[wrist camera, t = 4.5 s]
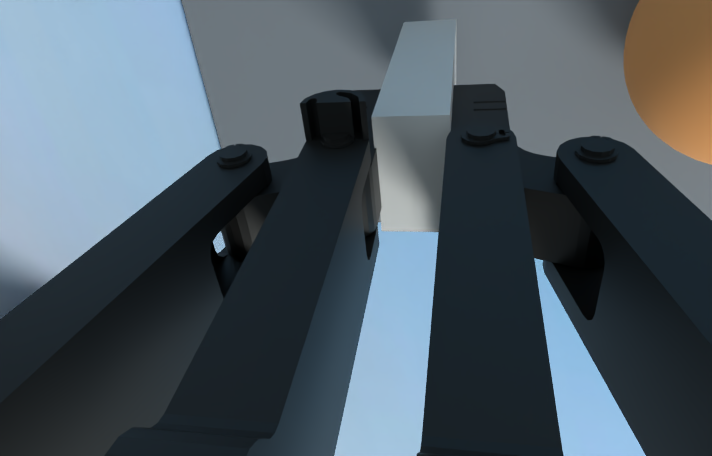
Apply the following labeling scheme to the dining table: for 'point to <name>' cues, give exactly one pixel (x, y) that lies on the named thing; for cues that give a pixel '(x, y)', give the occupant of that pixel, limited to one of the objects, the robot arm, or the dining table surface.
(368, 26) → the mat
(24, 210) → the dining table surface
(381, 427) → the dining table surface
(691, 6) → the ball
